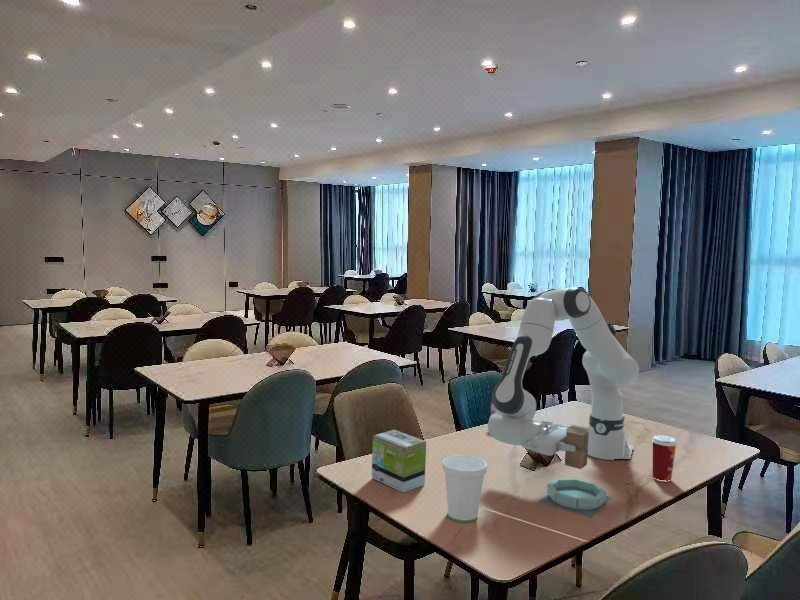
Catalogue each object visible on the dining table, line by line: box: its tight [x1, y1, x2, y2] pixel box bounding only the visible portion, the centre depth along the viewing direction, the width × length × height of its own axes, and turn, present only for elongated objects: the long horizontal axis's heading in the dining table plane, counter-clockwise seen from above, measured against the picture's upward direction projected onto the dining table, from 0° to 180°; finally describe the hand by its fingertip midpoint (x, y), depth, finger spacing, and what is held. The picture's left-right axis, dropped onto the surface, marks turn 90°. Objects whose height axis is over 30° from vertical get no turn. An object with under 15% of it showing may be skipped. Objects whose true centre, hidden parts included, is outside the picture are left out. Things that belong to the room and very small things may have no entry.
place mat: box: [538, 493, 613, 518], centre depth 179 cm, size 18×16×1 cm
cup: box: [441, 454, 488, 523], centre depth 166 cm, size 12×12×15 cm
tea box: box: [371, 429, 427, 494], centre depth 188 cm, size 15×10×15 cm
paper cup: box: [651, 434, 678, 481], centre depth 198 cm, size 8×8×14 cm
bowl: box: [546, 477, 607, 510], centre depth 179 cm, size 16×16×3 cm
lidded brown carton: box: [564, 424, 590, 470], centre depth 178 cm, size 5×5×11 cm
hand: (579, 445), depth 177 cm, fingers closed on lidded brown carton, 5 cm apart
